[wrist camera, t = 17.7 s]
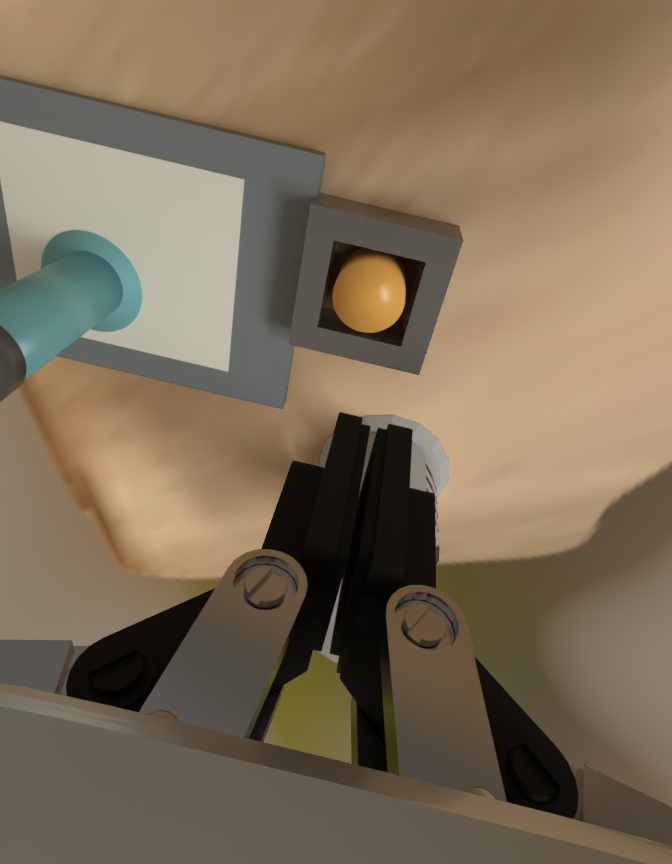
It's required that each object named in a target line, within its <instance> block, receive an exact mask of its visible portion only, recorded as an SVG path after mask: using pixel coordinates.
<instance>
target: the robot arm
mask: <svg viewBox="0 0 672 864" xmlns="http://www.w3.org/2000/svg"><path fill="white" fill-rule="evenodd" d="M362 419H363V418H362V417H358V416H354V415H349V414H345V413H341V412H339V415H338V419H337V423H336V427H335V430H334V434H333V438H332V442H331V446H330V449H329V453H328V457H327V461H326V464H325V468H323V467H319V466H315V465H310V464H306V463H302V462H297V461H293V462H292V464H291V466H290V469H289V472H288V475H287V478H286V481H285V483H284V486H283V489H282V492H281V495H280V498H279V501H278V503H277V506H276V509H275V512H274V515H273V518H272V520H271V523H270V526H269V529H268V532H267V535H266V538H265V540H264V543H263V546H262V549H257V550H254V551H250V552H246V553H245V554H243V555H241V556H240V557H238V558H236V559H235V560H234V561H233V563H232V564H231V565H230V566H229V567H228V569H227V570H226V572H225V574H224V575H223V577H222V578H221V580H220V582H219V583H218V585H217V587H216V588H214V589H212V590H210V591H208V592H205V593H203V594H201V595H199V596H197V597H194V598H192V599H190V600H187V601H185V602H183V603H181V604H179V605H176V606H174V607H172V608H170V609H167V610H165V611H163V612H161V613H159V614H156V615H154V616H152V617H150V618H147V619H145V620H143V621H140V622H138V623H136V624H134V625H131V626H129V627H127V628H125V629H122V630H120V631H118V632H116V633H113V634H111V635H109V636H107V637H104V638H102V639H101V640H99V641H97V642H96V643H94V644H92V645H91V646H73V643H72V640H71V641H70V640H66V641H65V640H0V864H672V807H671V806H669V805H667V804H665V803H663V802H660V801H658V800H656V799H654V798H652V797H650V796H648V795H646V794H644V793H642V792H640V791H638V790H636V789H634V788H632V787H630V786H628V785H626V784H623V783H621V782H619V781H617V780H615V779H613V778H611V777H609V776H607V775H605V774H603V773H601V772H599V771H596V770H595V769H593V768H590V767H589V766H586V765H583V766H581V767H580V768H577V767H575V766H573V765H571V764H569V763H568V762H567V760H566V759H565V757H564V756H563V755H562V753H561V752H560V751H559V749H558V748H557V747H556V746H555V745H554V744H553V742H551V740H550V739H549V738H548V737H547V736H546V735H545V734H544V733H543V731H542V730H541V729H540V728H539V727H538V726H537V725H536V724H535V723H534V722H533V720H532V719H531V718H530V717H529V716H528V715H527V714H526V713H525V712H524V711H523V709H522V708H521V707H520V706H519V705H518V704H517V703H516V702H515V701H514V700H513V699H512V697H510V695H509V694H508V693H507V692H506V691H505V690H504V689H503V687H502V686H501V685H500V684H499V683H498V682H497V681H496V680H495V679H494V677H493V676H492V675H491V674H490V673H489V672H488V671H487V670H486V669H485V668H484V666H483V665H482V664H481V663H480V662H479V661H478V660H477V659H476V658H475V657H474V653H473V648H472V644H471V640H470V635H469V631H468V626H467V623H466V620H465V617H464V615H463V612H462V611H461V610H460V608H459V607H458V606H457V604H456V603H455V602H454V601H453V600H452V599H451V598H449V597H448V596H447V595H446V594H445V593H443V592H441V591H439V590H437V589H436V542H435V495H434V493H431V492H426V491H422V490H418V489H414V488H410V473H411V454H412V434H413V430H412V429H410V428H406V427H402V426H397V425H393V424H388V426H387V429H382V428H378V429H377V432H376V436H375V439H374V443H373V447H372V450H371V454H370V457H369V461H368V465H367V468H366V472H365V476H364V479H363V483H362V487H361V490H360V486H361V480H362V474H363V468H364V462H365V457H366V451H367V445H368V439H369V433H370V427H371V426H369V425H364V424H362ZM359 492H360V494H359ZM341 581H342V583H341ZM340 585H341V589H340V595H339V601H338V606H337V612H336V618H335V624H334V630H333V635H332V641H331V647H330V654H333V655H337V656H339V660H338V667H337V673H341V674H340V679H341V681H342V682H343V684H344V685H345V687H346V688H347V689H348V691H349V692H350V694H351V695H352V699H351V706H350V711H351V758H352V759H351V760H352V761H351V762H352V764H350V763H346V762H342V761H338V760H334V759H330V758H325V757H321V756H317V755H313V754H309V753H305V752H301V751H296V750H293V749H288V748H284V747H280V746H276V745H272V744H268V743H264V739H265V737H266V734H267V732H268V729H269V727H270V724H271V722H272V719H273V717H274V714H275V712H276V709H277V707H278V704H279V702H280V699H281V697H282V694H283V692H284V689H285V684H286V683H288V682H289V681H291V680H292V679H294V678H296V677H297V676H299V675H301V674H302V673H304V672H306V671H307V670H308V666H309V662H310V658H311V655H312V651H313V650H316V651H320V652H321V651H322V648H323V644H324V641H325V637H326V634H327V630H328V627H329V623H330V620H331V616H332V613H333V609H334V606H335V602H336V599H337V595H338V592H339V588H340Z"/></svg>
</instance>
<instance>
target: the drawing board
mask: <svg viewBox="0 0 672 864" xmlns="http://www.w3.org/2000/svg"><path fill="white" fill-rule="evenodd" d="M325 156H326V153H322V152H318V151H314V150H310V149H306V148H301V147H297V146H293V145H289V144H285V143H280V142H276V141H272V140H268V139H264V138H259V137H255V136H251V135H247V134H243V133H239V132H234V131H230V130H226V129H222V128H218V127H213V126H209V125H205V124H201V123H197V122H192V121H188V120H184V119H180V118H176V117H171V116H167V115H163V114H159V113H155V112H151V111H146V110H142V109H138V108H134V107H130V106H125V105H121V104H117V103H113V102H109V101H104V100H100V99H96V98H92V97H88V96H83V95H79V94H75V93H71V92H67V91H63V90H58V89H54V88H50V87H46V86H42V85H37V84H33V83H29V82H25V81H21V80H16V79H12V78H8V77H4V76H0V290H1V289H3V288H4V287H6V286H8V285H10V284H12V283H14V282H16V281H18V280H20V279H22V278H24V277H26V276H28V275H30V274H32V273H34V272H36V271H38V270H40V269H42V268H44V267H46V266H47V265H49V264H51V263H53V262H55V261H57V260H59V259H61V258H63V257H65V256H67V255H69V254H71V253H73V252H77V251H87V252H91V253H94V254H96V255H98V256H100V257H102V258H103V259H105V260H106V261H107V262H108V263H109V264H110V265H111V266H112V267H113V268H114V269H115V271H116V272H117V274H118V276H119V278H120V280H121V283H122V288H123V297H122V301H121V303H120V305H119V306H118V308H117V309H116V310H114V311H113V312H112V313H110V314H109V315H108V316H107V317H105V318H104V319H103V320H101V321H100V322H99V323H98V324H96V325H95V326H94V327H92V328H91V329H90V330H88V331H87V332H86V333H85V334H83V335H82V336H81V337H79V338H78V339H77V340H76V341H74V342H73V343H72V344H70V345H69V346H68V347H66V348H65V349H64V350H63V351H61V352H60V353H59V354H57V355H56V356H59V357H63V358H67V359H72V360H76V361H80V362H84V363H89V364H93V365H97V366H101V367H106V368H110V369H114V370H118V371H123V372H127V373H131V374H135V375H140V376H144V377H148V378H152V379H157V380H161V381H165V382H169V383H173V384H178V385H182V386H186V387H190V388H195V389H199V390H203V391H207V392H212V393H216V394H220V395H224V396H229V397H233V398H237V399H241V400H246V401H250V402H254V403H258V404H263V405H267V406H271V407H275V408H280V409H283V407H284V404H285V401H286V395H287V389H288V383H289V377H290V371H291V364H292V358H293V352H294V345H290V344H289V338H290V332H291V326H292V319H293V313H294V306H295V300H296V293H297V287H298V281H299V274H300V268H301V261H302V255H303V248H304V242H305V236H306V229H307V223H308V216H309V210H310V204H311V203H312V201H313V200H314V199H315V198H316V197H317V195H318V194H319V193H320V187H321V180H322V174H323V168H324V162H325Z"/></svg>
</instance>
